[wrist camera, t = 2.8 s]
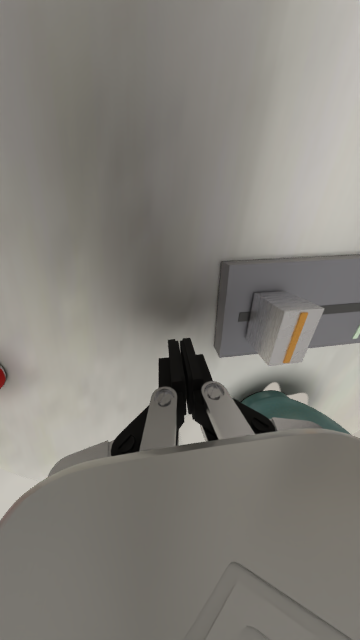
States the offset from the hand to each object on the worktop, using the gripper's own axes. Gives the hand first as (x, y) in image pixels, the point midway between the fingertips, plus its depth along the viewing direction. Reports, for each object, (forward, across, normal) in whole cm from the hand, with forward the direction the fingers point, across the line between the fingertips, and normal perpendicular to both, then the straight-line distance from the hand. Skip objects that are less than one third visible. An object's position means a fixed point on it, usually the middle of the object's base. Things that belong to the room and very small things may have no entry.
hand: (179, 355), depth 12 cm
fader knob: (+4, -9, -1) cm, 10 cm away
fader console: (+6, -15, -1) cm, 16 cm away
